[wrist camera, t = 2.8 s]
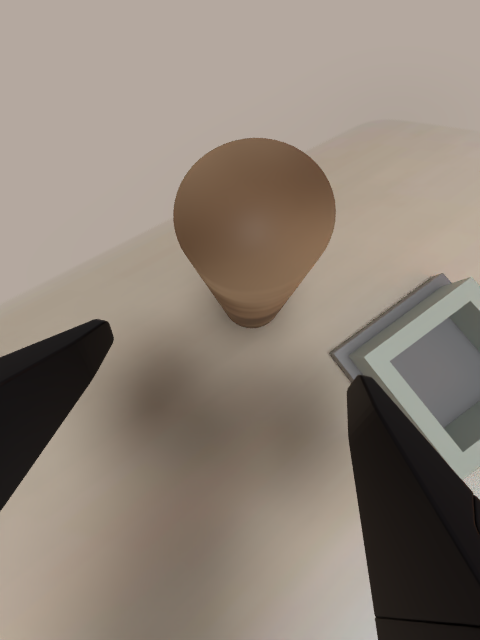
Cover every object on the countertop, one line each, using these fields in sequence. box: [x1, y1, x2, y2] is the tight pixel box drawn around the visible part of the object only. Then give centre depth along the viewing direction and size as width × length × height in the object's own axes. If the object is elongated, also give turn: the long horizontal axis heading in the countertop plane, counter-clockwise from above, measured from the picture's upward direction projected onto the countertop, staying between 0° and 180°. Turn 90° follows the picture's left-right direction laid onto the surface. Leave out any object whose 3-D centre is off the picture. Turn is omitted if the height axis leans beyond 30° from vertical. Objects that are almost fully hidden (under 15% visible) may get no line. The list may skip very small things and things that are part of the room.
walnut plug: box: [174, 138, 336, 328], centre depth 14 cm, size 5×5×13 cm
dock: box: [329, 273, 480, 480], centre depth 17 cm, size 11×11×4 cm
